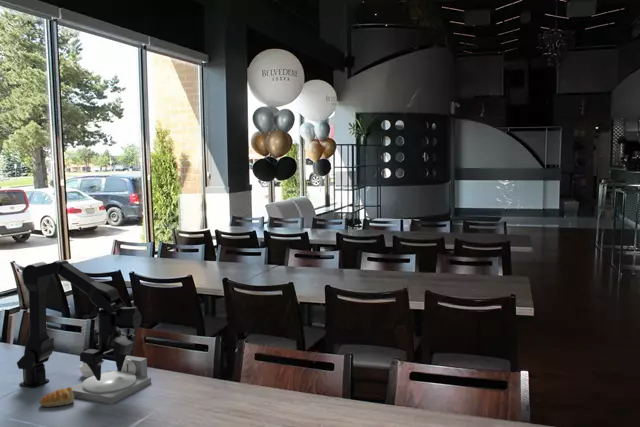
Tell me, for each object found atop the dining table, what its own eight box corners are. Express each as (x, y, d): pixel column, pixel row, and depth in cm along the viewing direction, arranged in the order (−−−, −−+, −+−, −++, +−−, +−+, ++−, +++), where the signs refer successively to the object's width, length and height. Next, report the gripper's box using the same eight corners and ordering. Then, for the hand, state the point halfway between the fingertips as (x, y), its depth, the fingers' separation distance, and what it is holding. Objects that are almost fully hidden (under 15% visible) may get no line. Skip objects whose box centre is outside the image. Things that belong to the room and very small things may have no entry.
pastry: (41, 410, 165) (40, 398, 165) (38, 402, 171) (37, 390, 170) (76, 402, 170) (75, 390, 170) (72, 394, 176) (71, 383, 175)
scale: (66, 395, 176) (65, 373, 176) (114, 373, 196) (113, 353, 195) (111, 404, 170) (111, 381, 169) (157, 380, 189) (156, 359, 189)
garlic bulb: (76, 377, 193) (75, 357, 192) (93, 372, 197) (92, 352, 197) (85, 381, 189) (84, 360, 188) (102, 376, 193) (101, 356, 193)
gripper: (106, 338, 168) (108, 389, 169) (147, 322, 186) (149, 369, 187) (77, 334, 173) (79, 384, 174) (120, 319, 190) (122, 365, 191)
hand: (109, 375), depth 181 cm, fingers open, 9 cm apart
